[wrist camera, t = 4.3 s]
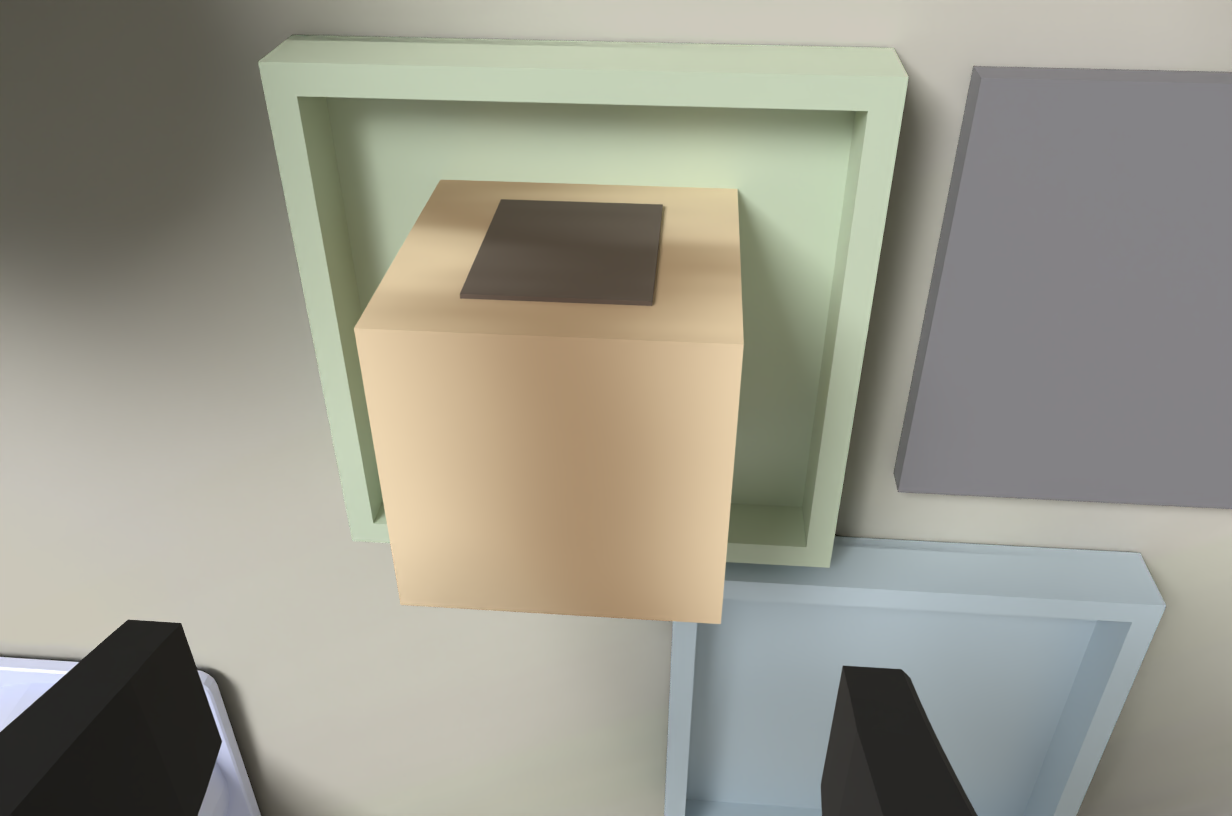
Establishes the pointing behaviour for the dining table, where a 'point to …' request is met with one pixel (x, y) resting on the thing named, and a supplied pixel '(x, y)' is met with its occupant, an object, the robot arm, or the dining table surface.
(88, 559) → the dining table surface
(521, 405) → the letter block
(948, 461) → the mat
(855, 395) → the sage tray
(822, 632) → the blue-grey tray
